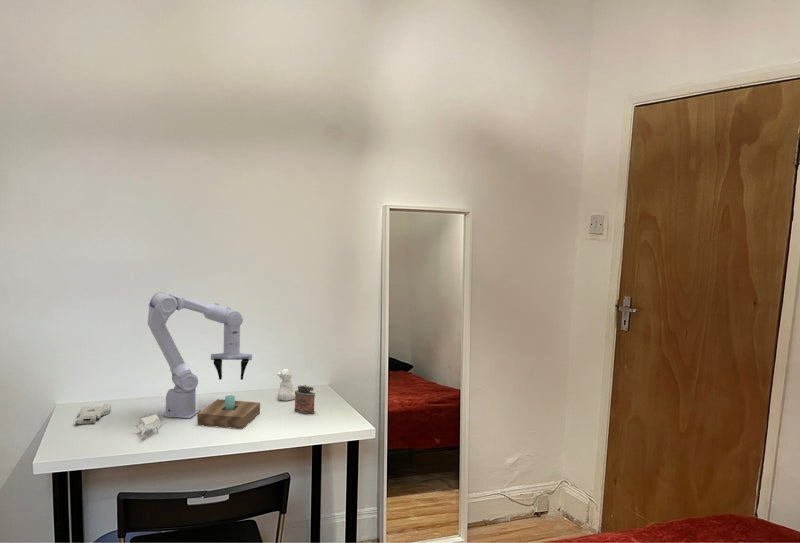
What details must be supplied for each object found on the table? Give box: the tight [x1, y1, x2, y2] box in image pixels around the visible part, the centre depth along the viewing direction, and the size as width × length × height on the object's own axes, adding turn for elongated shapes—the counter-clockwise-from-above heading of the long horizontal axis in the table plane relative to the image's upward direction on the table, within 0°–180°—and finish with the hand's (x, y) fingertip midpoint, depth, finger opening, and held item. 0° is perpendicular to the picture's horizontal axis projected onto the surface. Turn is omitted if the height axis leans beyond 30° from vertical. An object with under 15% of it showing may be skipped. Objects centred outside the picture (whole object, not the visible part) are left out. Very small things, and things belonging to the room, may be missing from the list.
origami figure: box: [134, 413, 163, 441], centre depth 191 cm, size 12×8×5 cm
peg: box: [224, 394, 236, 411], centre depth 208 cm, size 3×3×8 cm
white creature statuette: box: [276, 368, 295, 402], centre depth 233 cm, size 10×9×12 cm
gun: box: [74, 403, 112, 425], centre depth 205 cm, size 18×3×10 cm
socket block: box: [196, 399, 261, 429], centre depth 208 cm, size 16×16×4 cm
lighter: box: [293, 384, 316, 415], centre depth 218 cm, size 8×3×10 cm, turn 68°
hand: (231, 378), depth 220 cm, fingers open, 7 cm apart
